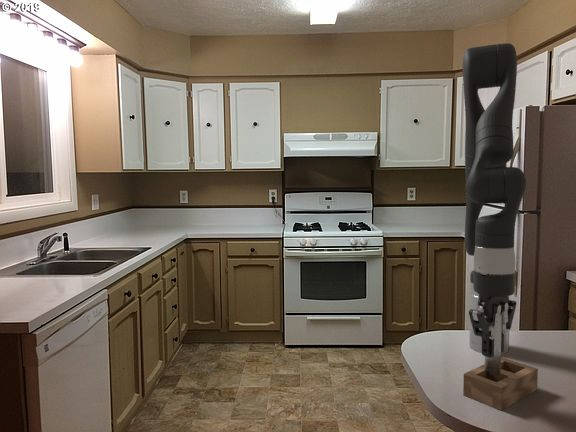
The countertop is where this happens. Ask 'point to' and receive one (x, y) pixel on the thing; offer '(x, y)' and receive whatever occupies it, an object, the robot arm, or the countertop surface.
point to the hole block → (501, 384)
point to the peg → (495, 351)
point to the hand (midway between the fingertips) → (492, 353)
